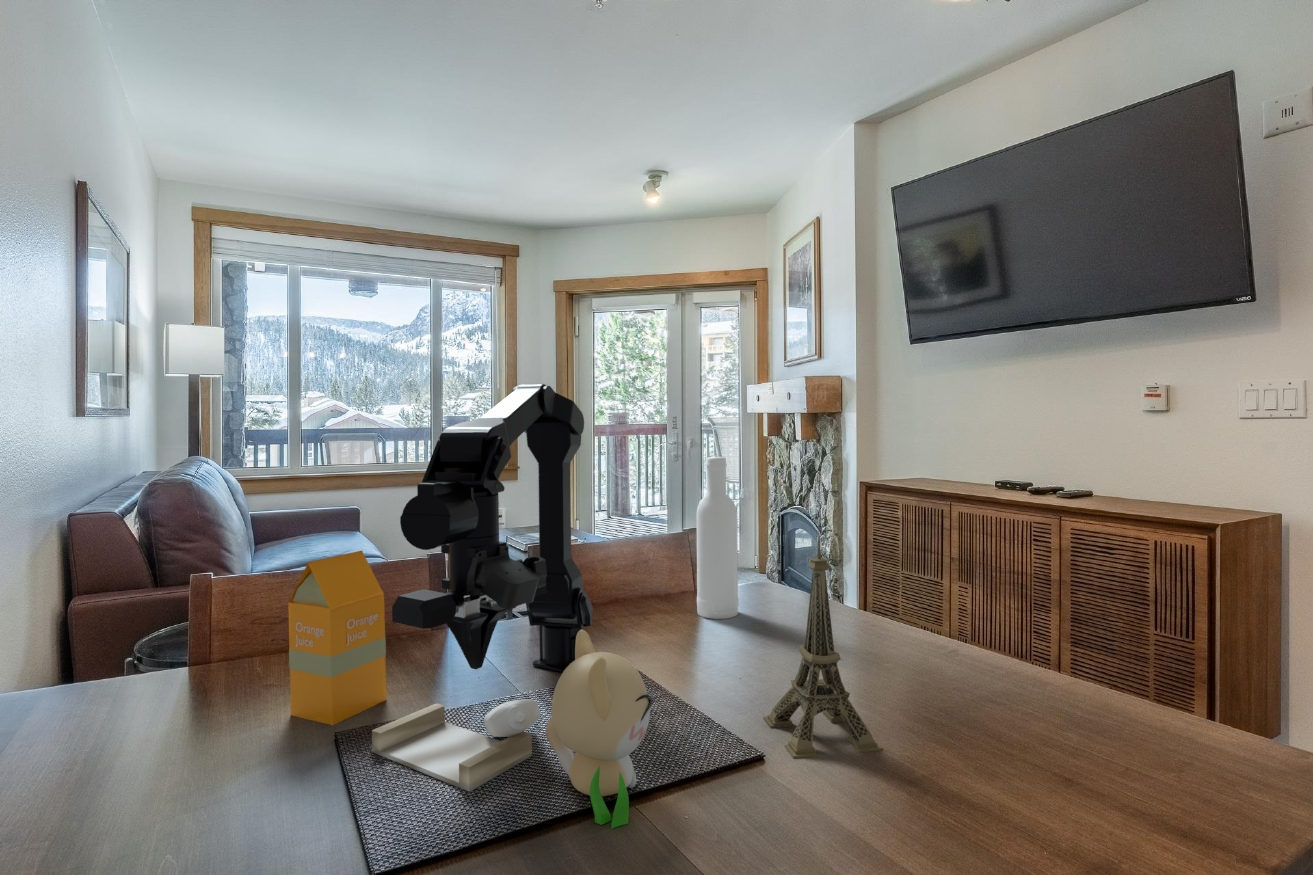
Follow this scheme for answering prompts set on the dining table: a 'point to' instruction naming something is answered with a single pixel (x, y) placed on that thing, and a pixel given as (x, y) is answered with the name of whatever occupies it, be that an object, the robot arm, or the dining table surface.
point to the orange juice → (336, 640)
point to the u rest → (448, 748)
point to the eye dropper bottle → (512, 717)
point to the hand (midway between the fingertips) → (476, 668)
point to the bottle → (717, 547)
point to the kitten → (599, 726)
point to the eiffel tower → (817, 691)
